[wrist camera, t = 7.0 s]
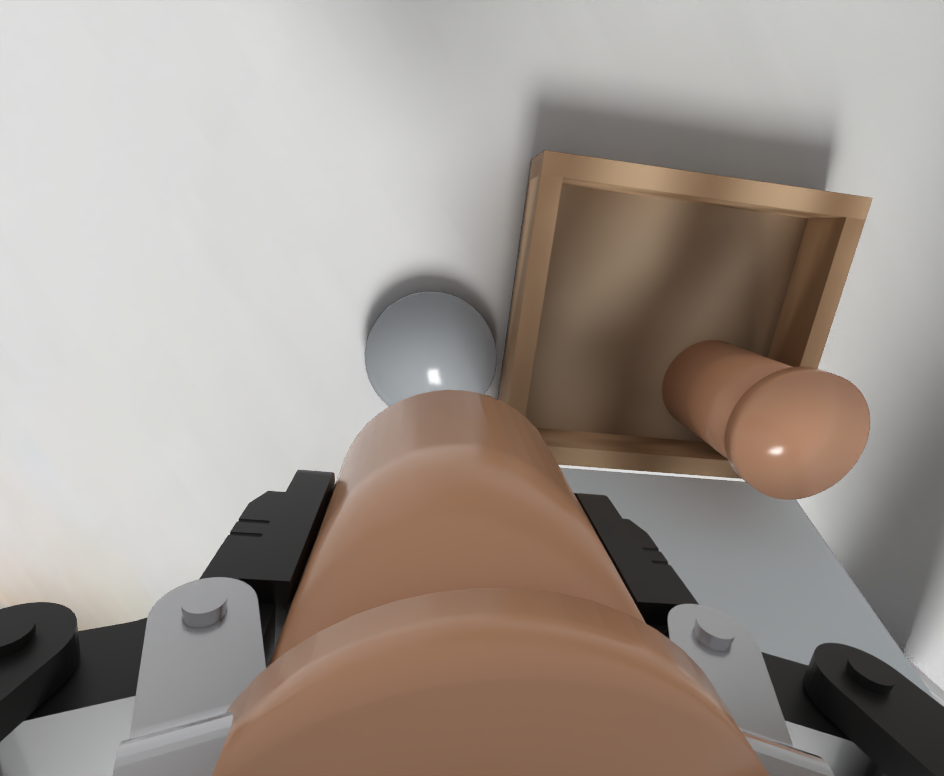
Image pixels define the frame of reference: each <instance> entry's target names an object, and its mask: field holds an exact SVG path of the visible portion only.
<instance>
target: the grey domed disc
mask: <svg viewBox="0 0 944 776" xmlns="http://www.w3.org/2000/svg"><path fill="white" fill-rule="evenodd" d="M496 361H497V354H496V346H495V341H494V338H493V335H492V333H491V331H490V329H489V327H488V325H487V323H486V322H485V320H484V319H483V317H482V316H481V315H480V314H479V312H478V311H477V310H476V309H475V308H474V307H472V306H471V305H470V304H469V303H467V302H466V301H464V300H463V299H461V298H458V297H456V296H454V295H451V294H448V293H444V292H438V291H424V292H417V293H413V294H410V295H407V296H404V297H402V298H401V299H399V300H397V301H395V302H394V303H392V304H391V305H390V306H389V307H387V308H386V309H385V310H384V311H383V312H382V314H381V315H380V316H379V317H378V319H377V320H376V322H375V324H374V325H373V327H372V329H371V331H370V334H369V336H368V339H367V343H366V349H365V365H366V371H367V374H368V378H369V380H370V383H371V385H372V387H373V388H374V390H375V392H376V393H377V394H378V396H379V397H380V398H381V399H382V400H383V401H384V402H385V403H386V404H387V405H388V406H389V407H390V406H391V405H393V404H395V403H397V402H399V401H401V400H403V399H406V398H409V397H412V396H415V395H417V394H422V393H426V392H431V391H440V390H464V391H470V392H476V393H480V394H483V395H484V394H485V393H486V391H487V390H488V388H489V386H490V384H491V382H492V380H493V377H494V374H495V369H496Z"/></svg>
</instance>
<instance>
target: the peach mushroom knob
mask: <svg viewBox="0 0 944 776" xmlns="http://www.w3.org/2000/svg"><path fill="white" fill-rule="evenodd" d="M228 712H232V713H233V720H232V724H231V727H230V730H229V733H228V736H227V738H226V741H225V743H224V746H223V748H222V751H221V753H220V756H219V758H218V761H217V763H216V766H215V768H214V771H213V774H212V776H769V774H768V772H767V771H766V769H765V768H764V766H763V764H762V763H761V761H760V760H759V758H758V756H757V755H756V753H755V752H754V750H753V748H752V747H751V745H750V744H749V742H748V740H747V739H746V737H745V736H744V734H743V732H742V731H741V729H740V728H739V726H738V725H737V723H736V721H735V720H734V718H733V717H732V715H731V713H730V712H729V710H728V709H727V707H726V705H725V704H724V702H723V701H722V699H721V697H720V696H719V694H718V693H717V691H716V690H715V688H714V687H713V685H712V684H711V682H710V681H709V679H708V678H707V676H706V675H705V673H704V672H703V670H702V669H701V668H700V667H699V666H698V665H697V664H696V663H695V662H694V661H693V660H692V659H691V658H690V657H689V656H688V654H687V653H686V652H685V651H684V650H683V649H682V648H680V647H679V646H678V645H676V644H675V643H674V642H672V641H671V640H670V639H668V638H667V637H666V636H664V635H663V634H662V633H660V632H659V631H658V630H656V629H655V628H653V627H651V626H649V625H647V624H646V623H645V621H644V619H643V617H642V615H641V613H640V612H639V610H638V608H637V606H636V604H635V603H634V601H633V599H632V597H631V595H630V594H629V592H628V590H627V588H626V586H625V585H624V583H623V581H622V579H621V577H620V576H619V574H618V572H617V570H616V568H615V567H614V565H613V563H612V561H611V559H610V558H609V556H608V554H607V552H606V550H605V549H604V547H603V545H602V543H601V541H600V540H599V538H598V536H597V534H596V532H595V530H594V529H593V527H592V525H591V523H590V521H589V520H588V518H587V516H586V514H585V512H584V511H583V509H582V507H581V505H580V503H579V502H578V500H577V498H576V496H575V494H574V493H573V491H572V489H571V487H570V485H569V484H568V482H567V480H566V478H565V476H564V475H563V473H562V471H561V469H560V467H559V466H558V464H557V462H556V460H555V458H554V457H553V455H552V453H551V451H550V449H549V447H548V446H547V444H546V442H545V440H544V439H543V437H542V436H541V434H540V433H539V431H538V430H537V429H536V428H535V427H534V425H533V424H532V423H531V422H530V421H529V420H528V419H527V418H526V417H525V416H523V415H522V414H521V413H520V412H519V411H517V410H516V409H514V408H512V407H511V406H509V405H508V404H506V403H504V402H502V401H500V400H497V399H495V398H493V397H490V396H487V395H483V394H480V393H476V392H470V391H464V390H440V391H431V392H426V393H422V394H417V395H415V396H412V397H409V398H406V399H403V400H401V401H399V402H397V403H395V404H393V405H391V406H390V407H388V408H387V409H385V410H384V411H382V412H381V413H379V414H378V415H377V416H375V417H374V418H373V419H372V420H371V421H370V422H369V423H368V424H367V425H366V426H365V427H364V428H363V429H362V430H361V432H360V433H359V434H358V435H357V437H356V438H355V440H354V441H353V443H352V444H351V446H350V448H349V450H348V452H347V454H346V457H345V459H344V462H343V464H342V467H341V470H340V472H339V475H338V478H337V481H336V483H335V486H334V489H333V492H332V494H331V497H330V500H329V503H328V505H327V508H326V511H325V513H324V516H323V519H322V522H321V524H320V527H319V530H318V533H317V535H316V538H315V541H314V543H313V546H312V549H311V552H310V554H309V557H308V560H307V563H306V565H305V568H304V571H303V574H302V576H301V579H300V582H299V584H298V587H297V590H296V593H295V595H294V598H293V601H292V604H291V606H290V609H289V612H288V614H287V617H286V620H285V623H284V625H283V628H282V631H281V634H280V636H279V639H278V642H277V645H276V647H275V650H274V653H273V655H272V658H271V661H270V664H269V666H268V667H267V668H266V669H265V670H263V671H262V672H261V673H260V674H259V675H257V676H256V677H255V679H254V680H253V681H252V682H251V683H250V684H249V685H248V686H247V687H246V688H245V689H244V690H243V691H242V693H241V694H240V695H239V696H238V697H237V698H236V699H235V700H234V701H233V703H232V704H231V706H230V707H229V709H228V710H227V711H226V713H228Z"/></svg>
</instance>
